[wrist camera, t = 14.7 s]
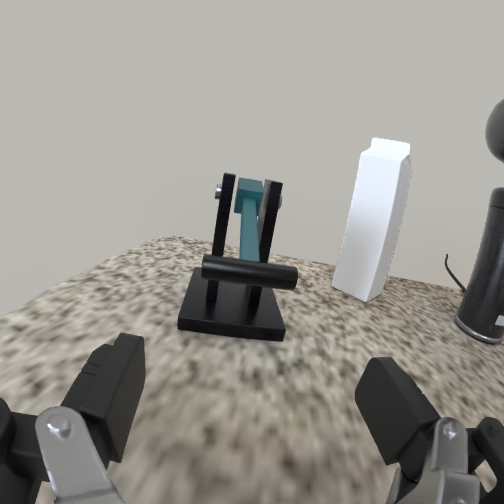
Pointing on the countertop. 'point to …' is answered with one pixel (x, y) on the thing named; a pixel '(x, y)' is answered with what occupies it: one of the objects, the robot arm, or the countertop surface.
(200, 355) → the countertop surface
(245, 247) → the lever
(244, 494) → the countertop surface
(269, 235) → the bracket
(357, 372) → the countertop surface
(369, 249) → the milk
